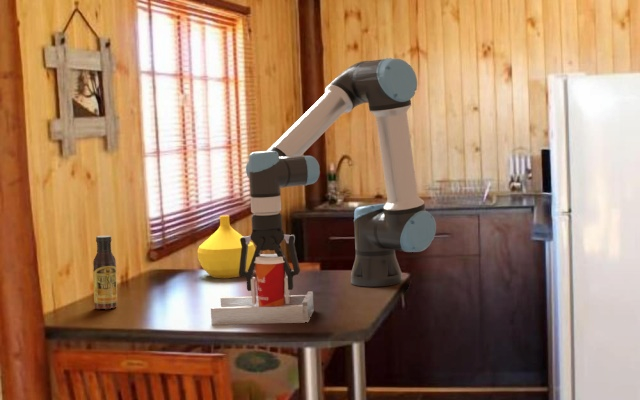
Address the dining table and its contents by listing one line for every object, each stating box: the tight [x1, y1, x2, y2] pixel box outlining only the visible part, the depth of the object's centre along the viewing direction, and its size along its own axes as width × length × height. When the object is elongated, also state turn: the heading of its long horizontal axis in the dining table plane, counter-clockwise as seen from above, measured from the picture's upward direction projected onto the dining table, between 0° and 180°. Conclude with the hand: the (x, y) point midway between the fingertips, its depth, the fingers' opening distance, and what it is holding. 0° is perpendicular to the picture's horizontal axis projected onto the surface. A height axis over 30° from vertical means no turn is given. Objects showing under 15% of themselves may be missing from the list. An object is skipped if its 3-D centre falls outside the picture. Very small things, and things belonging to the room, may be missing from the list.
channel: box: [210, 290, 315, 326], centre depth 237 cm, size 24×13×5 cm, turn 85°
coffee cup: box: [254, 253, 286, 306], centre depth 236 cm, size 8×8×15 cm
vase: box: [197, 214, 256, 279], centre depth 299 cm, size 18×18×19 cm
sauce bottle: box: [92, 235, 118, 310], centre depth 257 cm, size 6×6×20 cm
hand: (271, 302), depth 237 cm, fingers open, 8 cm apart
